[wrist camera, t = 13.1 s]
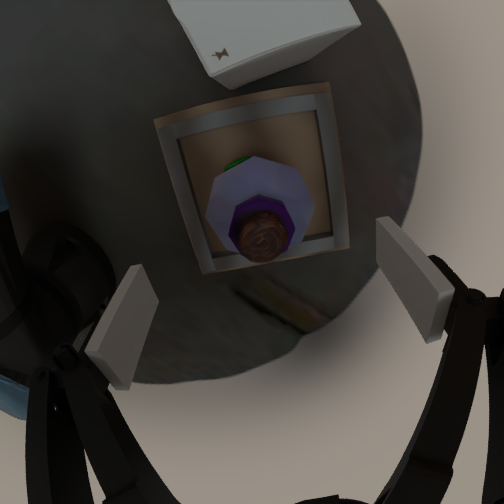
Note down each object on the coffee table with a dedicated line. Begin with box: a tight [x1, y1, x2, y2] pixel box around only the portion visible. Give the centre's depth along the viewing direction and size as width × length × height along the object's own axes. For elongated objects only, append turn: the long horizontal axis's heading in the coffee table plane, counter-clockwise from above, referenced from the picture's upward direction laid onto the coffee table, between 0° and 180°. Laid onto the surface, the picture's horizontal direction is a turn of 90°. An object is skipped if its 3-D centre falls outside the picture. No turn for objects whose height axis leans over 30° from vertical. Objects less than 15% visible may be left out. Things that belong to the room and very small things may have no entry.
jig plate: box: [154, 82, 350, 275], centre depth 29 cm, size 17×18×3 cm
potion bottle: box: [205, 155, 316, 263], centre depth 23 cm, size 9×9×12 cm
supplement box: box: [167, 0, 361, 90], centre depth 16 cm, size 9×9×15 cm
